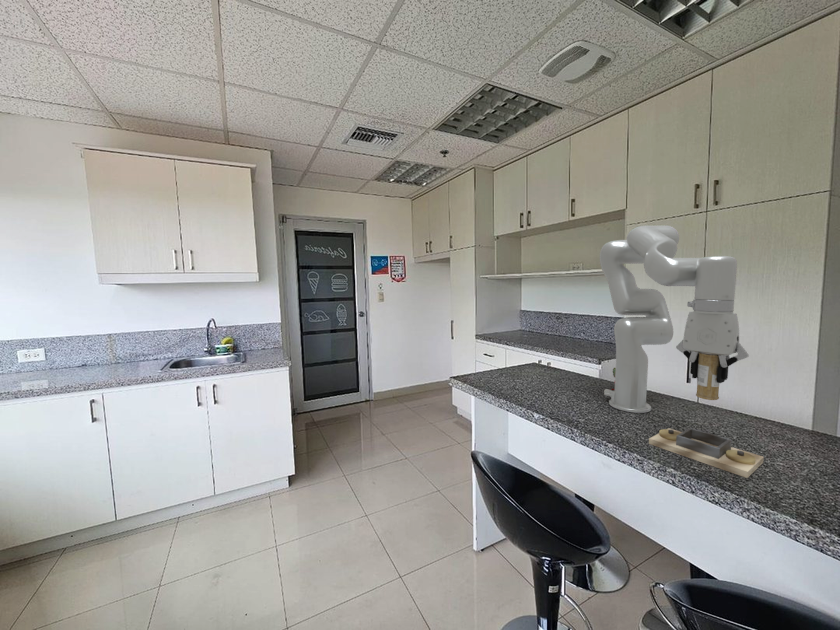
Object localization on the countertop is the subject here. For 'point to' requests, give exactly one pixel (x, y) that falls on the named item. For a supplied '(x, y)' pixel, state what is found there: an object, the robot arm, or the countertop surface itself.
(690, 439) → the board
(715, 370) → the sprinkles bottle
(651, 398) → the countertop surface
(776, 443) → the countertop surface
